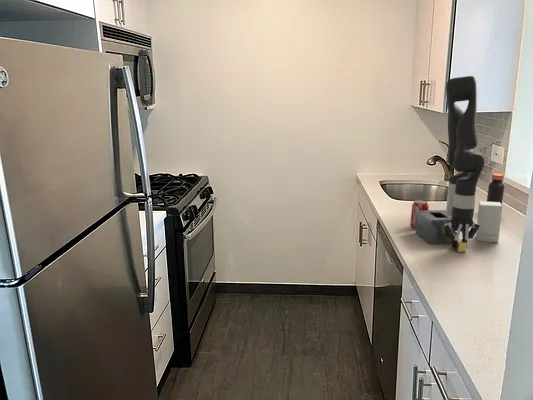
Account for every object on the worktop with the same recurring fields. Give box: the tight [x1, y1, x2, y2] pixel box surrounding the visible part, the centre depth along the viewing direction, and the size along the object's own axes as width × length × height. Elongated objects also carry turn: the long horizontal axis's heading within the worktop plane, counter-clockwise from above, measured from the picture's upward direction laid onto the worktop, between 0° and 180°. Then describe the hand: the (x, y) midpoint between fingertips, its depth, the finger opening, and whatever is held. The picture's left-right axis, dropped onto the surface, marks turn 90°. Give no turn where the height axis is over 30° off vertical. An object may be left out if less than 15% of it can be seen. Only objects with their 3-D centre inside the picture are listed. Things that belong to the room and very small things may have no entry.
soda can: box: [410, 199, 430, 230], centre depth 204 cm, size 7×7×12 cm
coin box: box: [415, 209, 460, 245], centre depth 191 cm, size 12×14×10 cm
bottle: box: [486, 173, 505, 206], centre depth 223 cm, size 7×7×20 cm
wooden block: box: [451, 238, 468, 253], centre depth 179 cm, size 3×6×4 cm, turn 4°
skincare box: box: [475, 200, 503, 243], centre depth 189 cm, size 8×7×16 cm
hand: (458, 248), depth 179 cm, fingers closed on wooden block, 3 cm apart
